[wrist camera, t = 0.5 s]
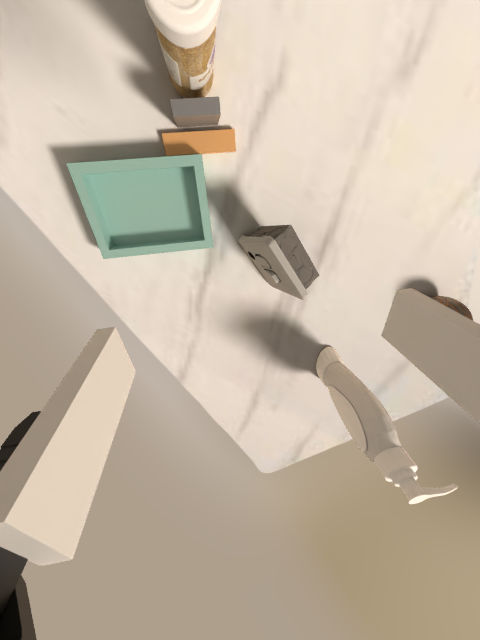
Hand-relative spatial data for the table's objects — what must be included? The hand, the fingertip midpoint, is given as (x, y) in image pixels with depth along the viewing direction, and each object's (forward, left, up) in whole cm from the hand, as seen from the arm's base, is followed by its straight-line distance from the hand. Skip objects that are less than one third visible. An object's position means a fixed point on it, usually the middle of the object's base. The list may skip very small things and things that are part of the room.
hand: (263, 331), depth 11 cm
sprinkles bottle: (-16, -2, -25) cm, 29 cm away
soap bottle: (+28, +20, -25) cm, 43 cm away
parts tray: (-4, -9, -24) cm, 26 cm away
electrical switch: (+3, +6, -25) cm, 26 cm away
